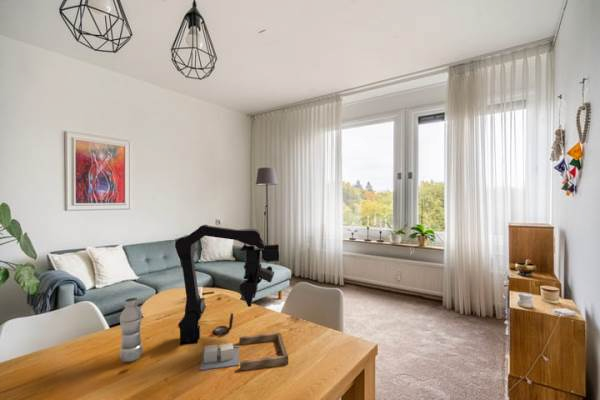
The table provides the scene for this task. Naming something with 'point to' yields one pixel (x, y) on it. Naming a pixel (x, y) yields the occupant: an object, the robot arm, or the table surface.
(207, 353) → the cream matte cube
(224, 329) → the compass
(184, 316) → the robot arm
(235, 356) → the rubber tray
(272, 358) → the walnut corral
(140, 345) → the plastic bottle
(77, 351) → the table surface
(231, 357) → the white square block
